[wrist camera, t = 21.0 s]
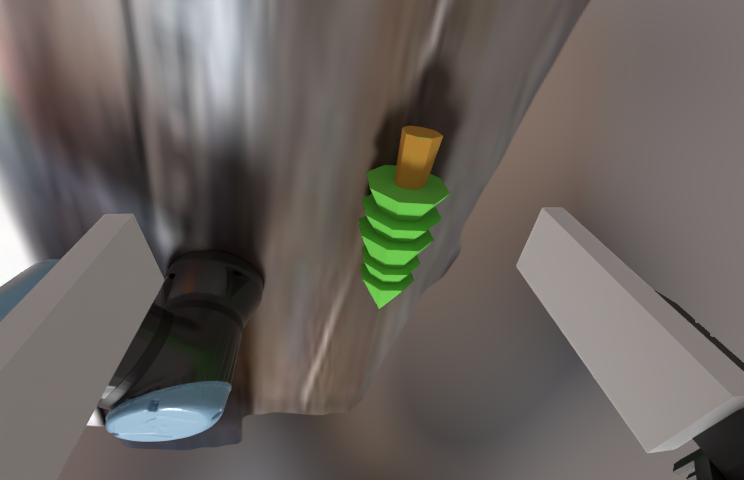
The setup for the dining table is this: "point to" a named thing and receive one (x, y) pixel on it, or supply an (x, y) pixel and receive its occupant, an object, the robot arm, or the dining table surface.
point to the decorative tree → (400, 214)
